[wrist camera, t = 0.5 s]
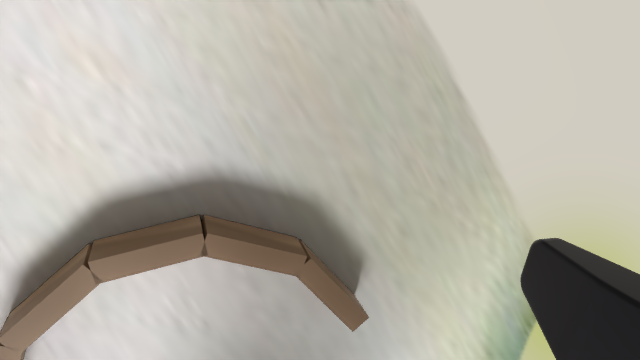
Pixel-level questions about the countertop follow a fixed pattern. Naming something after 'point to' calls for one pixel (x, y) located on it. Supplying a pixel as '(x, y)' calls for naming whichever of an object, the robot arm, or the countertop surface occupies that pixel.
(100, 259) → the walnut open arc
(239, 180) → the countertop surface
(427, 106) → the countertop surface
